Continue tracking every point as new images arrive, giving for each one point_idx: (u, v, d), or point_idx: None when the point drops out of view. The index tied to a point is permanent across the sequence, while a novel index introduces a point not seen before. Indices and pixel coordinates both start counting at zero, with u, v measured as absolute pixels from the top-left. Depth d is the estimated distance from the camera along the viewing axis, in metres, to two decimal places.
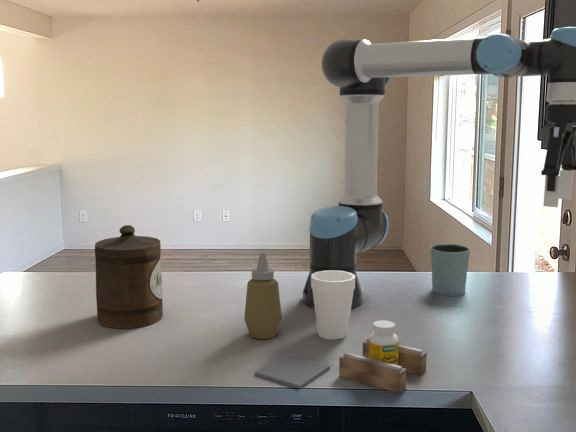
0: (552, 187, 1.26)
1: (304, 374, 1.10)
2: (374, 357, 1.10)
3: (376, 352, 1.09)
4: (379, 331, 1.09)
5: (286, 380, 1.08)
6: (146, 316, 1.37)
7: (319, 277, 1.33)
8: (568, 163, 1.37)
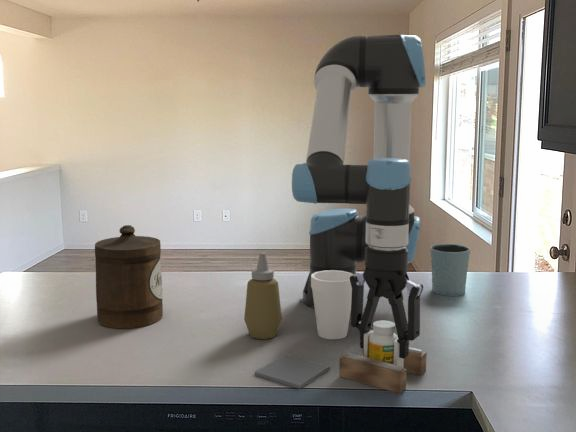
0: None
1: (304, 374, 1.10)
2: (374, 357, 1.10)
3: (376, 352, 1.09)
4: (379, 331, 1.09)
5: (286, 380, 1.08)
6: (146, 316, 1.37)
7: (319, 277, 1.33)
8: None
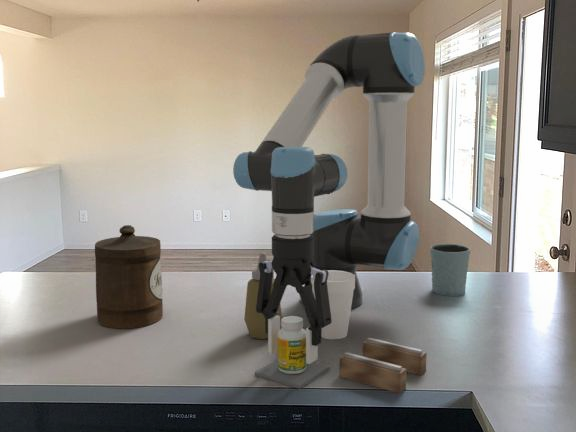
0: None
1: (304, 374, 1.10)
2: (281, 352, 1.10)
3: (282, 348, 1.10)
4: (286, 326, 1.10)
5: (286, 380, 1.08)
6: (146, 316, 1.37)
7: None
8: None
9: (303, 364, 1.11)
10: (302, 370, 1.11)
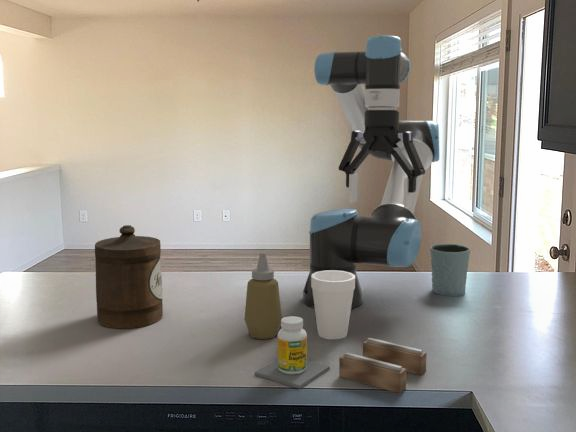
0: None
1: (304, 374, 1.10)
2: (281, 353, 1.10)
3: (282, 348, 1.10)
4: (286, 327, 1.10)
5: (286, 380, 1.08)
6: (146, 316, 1.37)
7: (319, 277, 1.33)
8: None
9: (303, 364, 1.11)
10: (302, 370, 1.11)
